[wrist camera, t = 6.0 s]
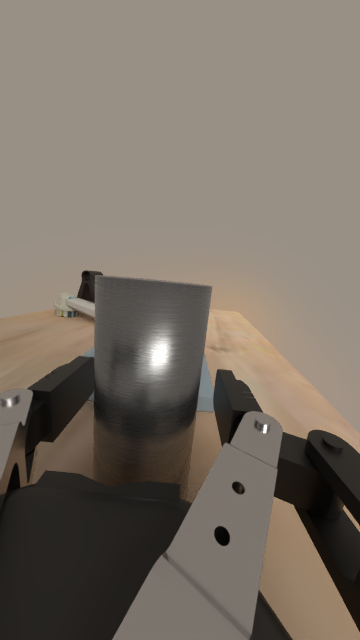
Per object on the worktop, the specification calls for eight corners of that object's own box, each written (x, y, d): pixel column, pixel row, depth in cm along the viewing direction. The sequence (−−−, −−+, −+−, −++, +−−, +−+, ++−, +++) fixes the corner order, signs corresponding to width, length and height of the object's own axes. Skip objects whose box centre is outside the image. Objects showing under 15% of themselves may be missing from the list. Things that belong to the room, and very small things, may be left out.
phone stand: (72, 311, 58) (71, 269, 56) (86, 308, 64) (85, 270, 62) (100, 315, 57) (101, 271, 54) (111, 311, 63) (112, 272, 60)
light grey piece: (123, 316, 40) (50, 287, 50) (119, 347, 41) (49, 312, 52) (140, 313, 44) (69, 287, 55) (135, 341, 46) (68, 310, 56)
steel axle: (73, 575, 8) (68, 273, 6) (112, 472, 12) (118, 276, 10) (181, 587, 8) (221, 288, 6) (182, 479, 12) (206, 284, 10)
